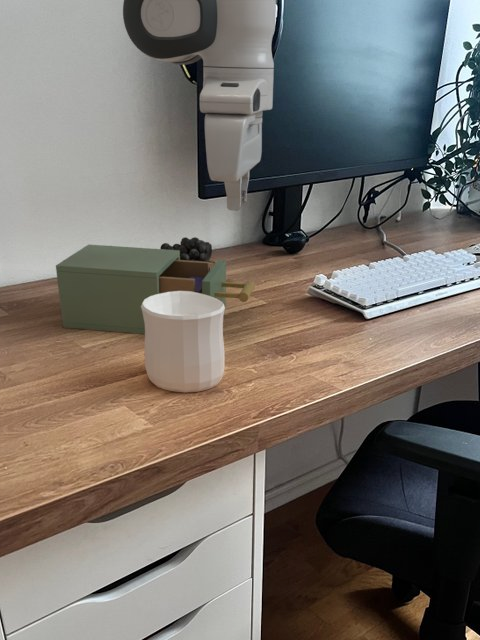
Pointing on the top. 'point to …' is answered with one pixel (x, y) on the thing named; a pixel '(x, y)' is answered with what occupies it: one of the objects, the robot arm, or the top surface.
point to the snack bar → (198, 284)
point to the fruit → (192, 249)
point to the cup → (184, 340)
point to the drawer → (212, 283)
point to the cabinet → (110, 286)
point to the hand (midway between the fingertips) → (237, 207)
